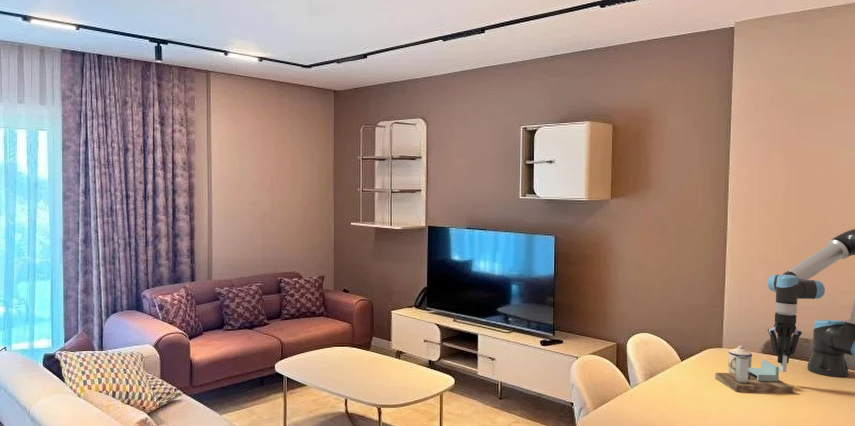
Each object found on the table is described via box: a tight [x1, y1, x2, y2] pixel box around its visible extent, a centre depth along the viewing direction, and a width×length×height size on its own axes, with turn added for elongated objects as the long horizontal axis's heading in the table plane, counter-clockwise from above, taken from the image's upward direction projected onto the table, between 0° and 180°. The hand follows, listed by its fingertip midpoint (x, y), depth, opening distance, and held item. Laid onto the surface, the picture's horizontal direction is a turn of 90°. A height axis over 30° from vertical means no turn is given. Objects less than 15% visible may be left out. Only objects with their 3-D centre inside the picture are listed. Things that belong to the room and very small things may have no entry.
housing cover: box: [748, 359, 780, 381], centre depth 247 cm, size 8×10×6 cm
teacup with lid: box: [727, 345, 753, 373], centre depth 261 cm, size 12×9×12 cm
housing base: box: [714, 372, 794, 395], centre depth 244 cm, size 22×17×4 cm
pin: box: [735, 356, 749, 384], centre depth 240 cm, size 3×3×13 cm
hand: (782, 371), depth 247 cm, fingers closed
